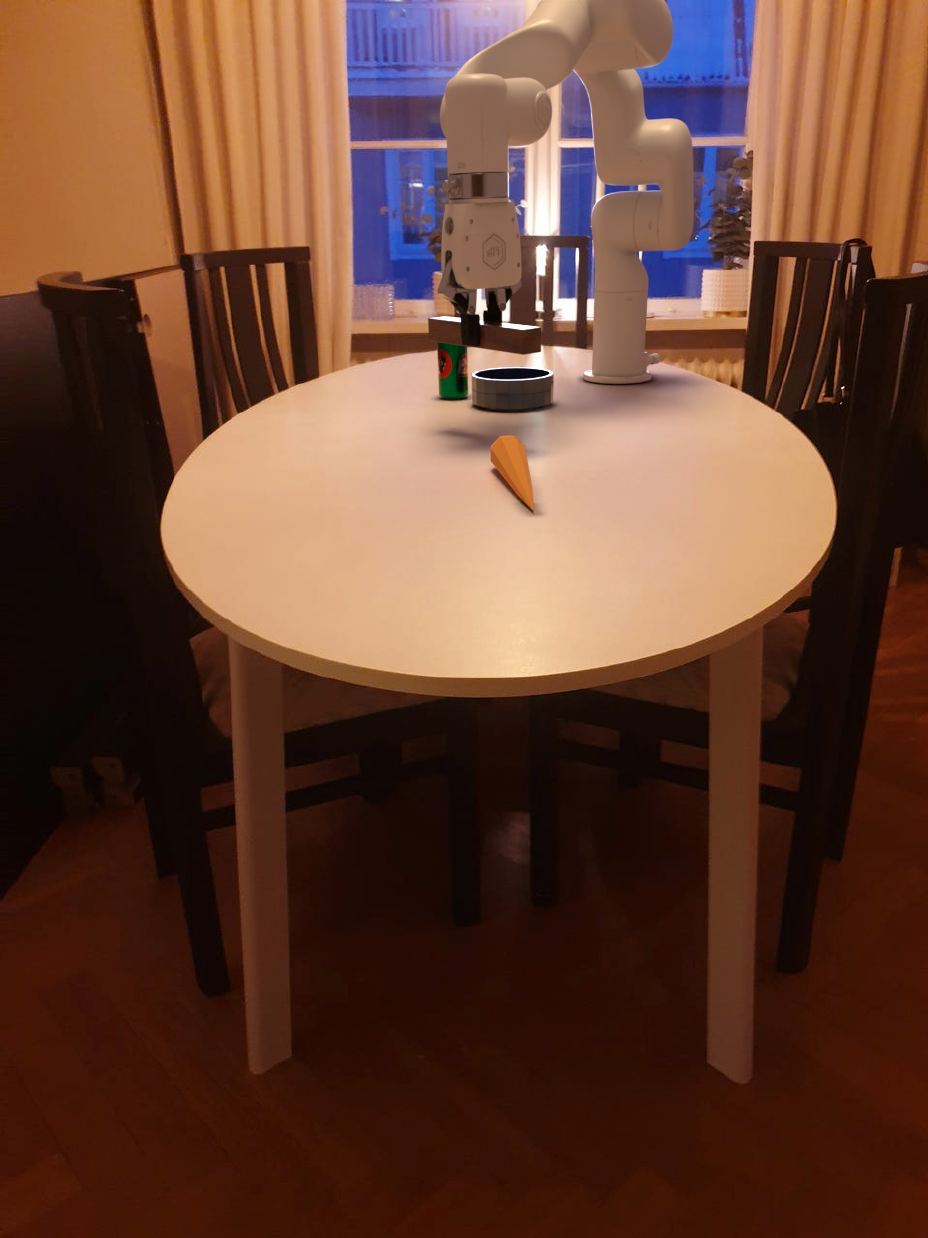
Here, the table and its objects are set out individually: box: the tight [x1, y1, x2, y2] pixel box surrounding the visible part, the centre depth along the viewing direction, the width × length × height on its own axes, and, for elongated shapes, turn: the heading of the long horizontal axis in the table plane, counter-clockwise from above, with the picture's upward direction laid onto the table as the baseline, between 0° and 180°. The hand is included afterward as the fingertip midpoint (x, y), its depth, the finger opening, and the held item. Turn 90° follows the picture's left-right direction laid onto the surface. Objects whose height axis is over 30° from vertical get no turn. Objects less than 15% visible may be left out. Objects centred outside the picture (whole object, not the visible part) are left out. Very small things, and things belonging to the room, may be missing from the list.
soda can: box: [436, 342, 469, 401], centre depth 152 cm, size 5×5×12 cm
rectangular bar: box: [427, 315, 542, 356], centre depth 119 cm, size 3×20×3 cm, turn 38°
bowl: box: [471, 366, 555, 412], centre depth 147 cm, size 13×13×5 cm
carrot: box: [490, 434, 535, 512], centre depth 102 cm, size 20×4×4 cm, turn 6°
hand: (482, 342), depth 119 cm, fingers closed on rectangular bar, 3 cm apart
